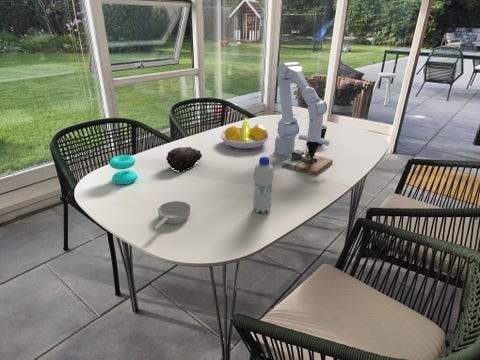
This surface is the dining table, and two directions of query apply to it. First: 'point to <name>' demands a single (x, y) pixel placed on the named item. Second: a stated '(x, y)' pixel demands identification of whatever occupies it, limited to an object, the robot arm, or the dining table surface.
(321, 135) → the coffee mug
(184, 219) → the small pan
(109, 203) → the dining table surface
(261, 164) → the bottle
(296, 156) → the lock hardware
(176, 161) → the pine cone
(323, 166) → the wooden latch board
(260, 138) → the fruit bowl
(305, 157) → the bolt
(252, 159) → the dining table surface
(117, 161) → the donuts
